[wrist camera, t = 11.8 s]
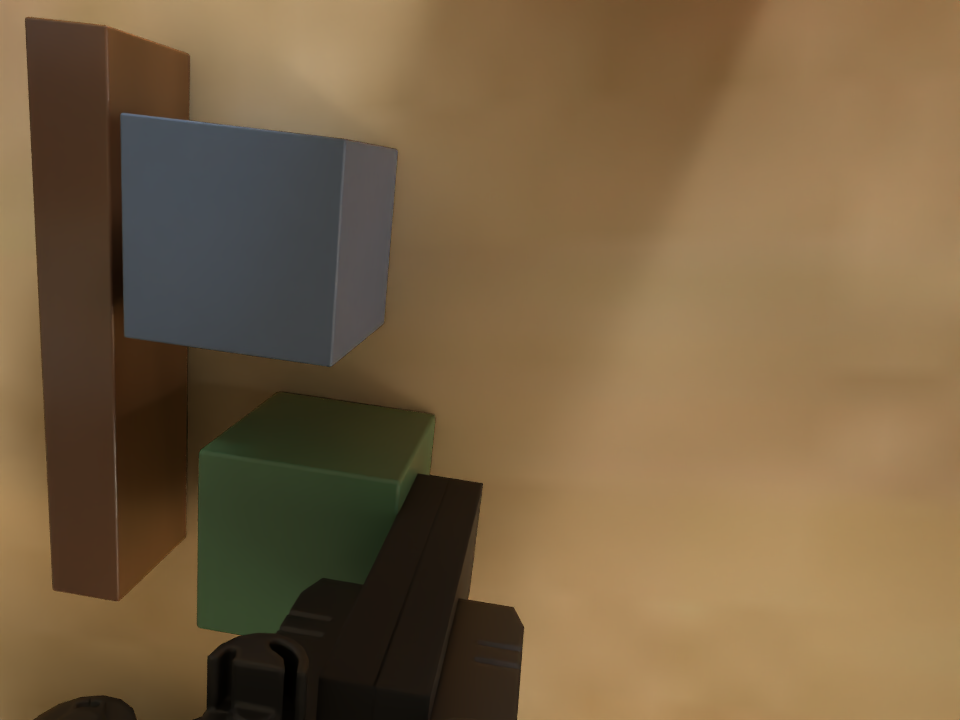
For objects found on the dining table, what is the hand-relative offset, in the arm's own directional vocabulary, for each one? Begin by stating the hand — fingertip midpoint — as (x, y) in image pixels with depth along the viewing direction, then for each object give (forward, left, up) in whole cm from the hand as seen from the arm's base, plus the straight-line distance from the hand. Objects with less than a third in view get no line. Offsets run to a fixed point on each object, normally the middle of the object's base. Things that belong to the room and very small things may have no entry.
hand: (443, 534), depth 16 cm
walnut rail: (+8, -4, -2) cm, 9 cm away
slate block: (+4, -6, -2) cm, 8 cm away
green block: (+3, 0, -2) cm, 3 cm away
